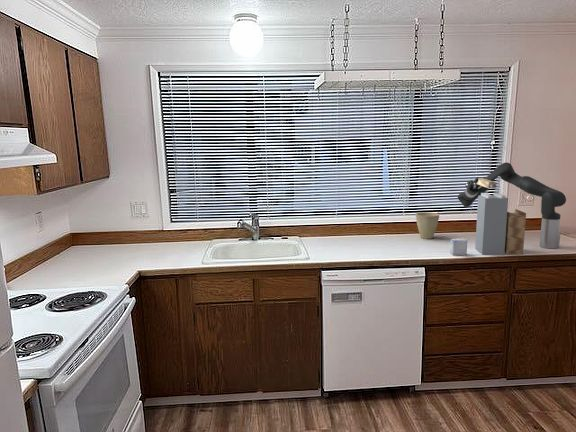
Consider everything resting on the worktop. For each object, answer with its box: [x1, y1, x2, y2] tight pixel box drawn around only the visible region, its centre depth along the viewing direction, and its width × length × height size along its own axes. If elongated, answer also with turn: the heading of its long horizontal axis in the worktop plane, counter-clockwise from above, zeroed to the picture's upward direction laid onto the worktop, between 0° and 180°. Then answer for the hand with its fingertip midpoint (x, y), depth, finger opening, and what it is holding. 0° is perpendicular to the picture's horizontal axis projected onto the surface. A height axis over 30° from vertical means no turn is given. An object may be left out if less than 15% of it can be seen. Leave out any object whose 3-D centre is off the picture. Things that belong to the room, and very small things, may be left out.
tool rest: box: [504, 208, 527, 255], centre depth 247 cm, size 9×12×24 cm
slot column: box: [474, 192, 509, 256], centre depth 246 cm, size 12×12×34 cm
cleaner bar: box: [476, 177, 497, 189], centre depth 254 cm, size 4×26×4 cm, turn 174°
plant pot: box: [415, 211, 440, 240], centre depth 285 cm, size 15×15×16 cm
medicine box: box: [449, 238, 468, 256], centre depth 245 cm, size 8×4×9 cm, turn 90°
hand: (481, 179), depth 262 cm, fingers closed on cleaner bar, 3 cm apart
